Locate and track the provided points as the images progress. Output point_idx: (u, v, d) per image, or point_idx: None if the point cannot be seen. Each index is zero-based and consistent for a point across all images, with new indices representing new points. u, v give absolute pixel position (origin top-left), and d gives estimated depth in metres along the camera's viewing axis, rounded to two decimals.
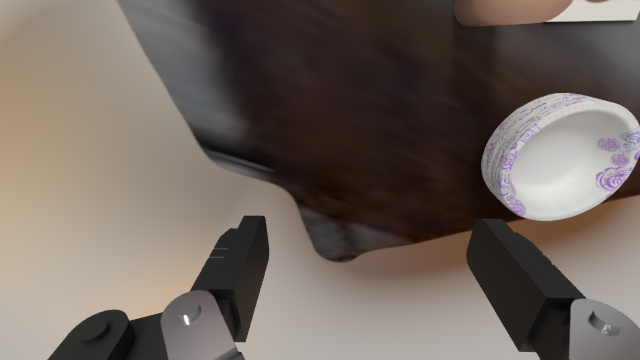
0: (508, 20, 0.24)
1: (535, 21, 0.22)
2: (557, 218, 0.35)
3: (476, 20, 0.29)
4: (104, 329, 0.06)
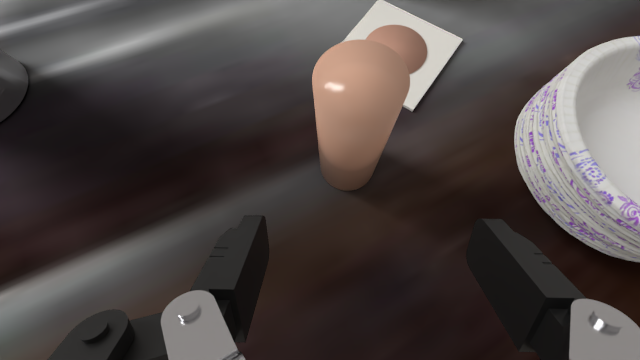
0: (378, 137, 0.15)
1: (399, 103, 0.13)
2: None
3: (361, 172, 0.20)
4: (104, 329, 0.06)
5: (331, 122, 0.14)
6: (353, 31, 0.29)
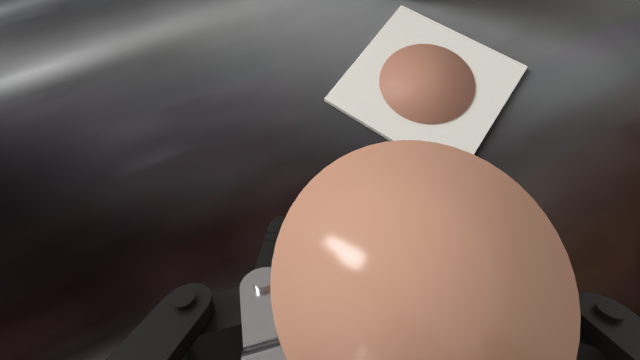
0: None
1: None
2: None
3: None
4: (192, 299, 0.07)
5: None
6: (364, 53, 0.20)
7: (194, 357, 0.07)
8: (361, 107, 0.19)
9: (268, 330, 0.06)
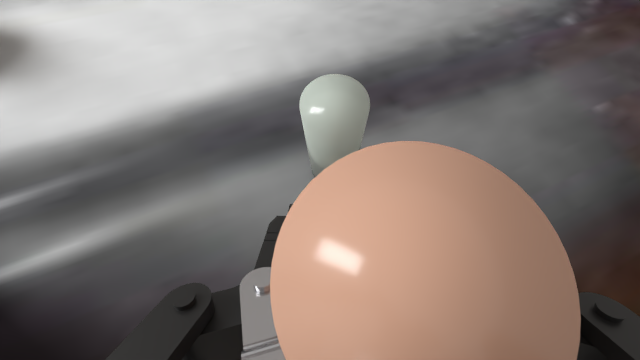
0: None
1: None
2: None
3: None
4: (192, 299, 0.07)
5: None
6: None
7: (194, 357, 0.07)
8: None
9: (268, 330, 0.06)
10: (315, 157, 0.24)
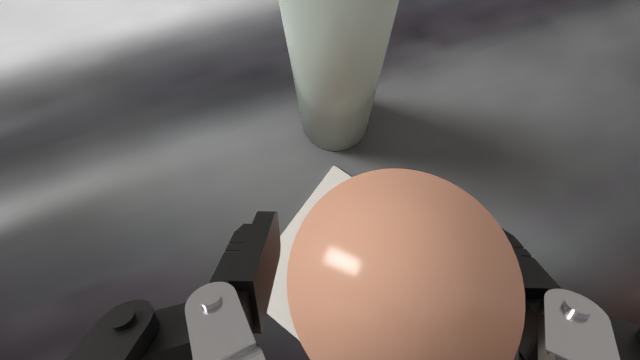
0: None
1: None
2: None
3: None
4: (131, 318, 0.06)
5: None
6: (288, 229, 0.18)
7: None
8: (279, 303, 0.17)
9: (222, 348, 0.06)
10: (305, 85, 0.14)
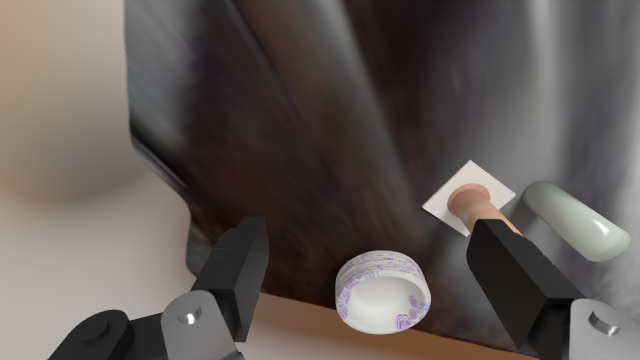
0: None
1: None
2: (362, 330, 0.48)
3: (464, 222, 0.41)
4: (104, 329, 0.06)
5: None
6: (491, 177, 0.42)
7: None
8: (462, 175, 0.42)
9: (202, 359, 0.06)
10: (562, 210, 0.37)
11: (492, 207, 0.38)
